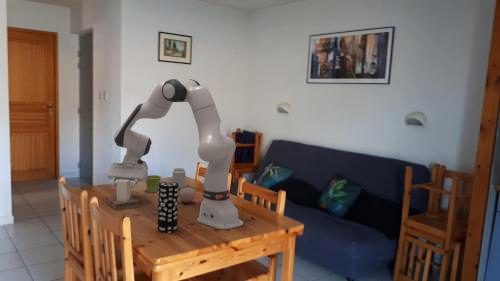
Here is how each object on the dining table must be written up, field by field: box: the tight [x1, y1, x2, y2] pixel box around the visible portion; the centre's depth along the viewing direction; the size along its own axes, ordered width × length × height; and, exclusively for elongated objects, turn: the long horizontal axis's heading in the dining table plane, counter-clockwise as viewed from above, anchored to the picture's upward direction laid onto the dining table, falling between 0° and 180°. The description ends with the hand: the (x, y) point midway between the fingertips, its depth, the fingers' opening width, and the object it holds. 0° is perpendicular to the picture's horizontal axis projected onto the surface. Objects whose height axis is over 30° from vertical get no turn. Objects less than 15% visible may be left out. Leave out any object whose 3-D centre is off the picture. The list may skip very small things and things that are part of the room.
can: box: [171, 167, 186, 190], centre depth 243 cm, size 8×8×12 cm
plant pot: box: [145, 174, 162, 194], centre depth 233 cm, size 9×9×9 cm
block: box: [116, 179, 132, 201], centre depth 203 cm, size 5×5×10 cm
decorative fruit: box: [178, 184, 197, 204], centre depth 213 cm, size 9×8×10 cm
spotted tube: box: [156, 181, 179, 234], centre depth 172 cm, size 8×8×20 cm
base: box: [106, 195, 141, 211], centre depth 203 cm, size 12×12×3 cm
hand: (123, 186), depth 202 cm, fingers open, 8 cm apart
